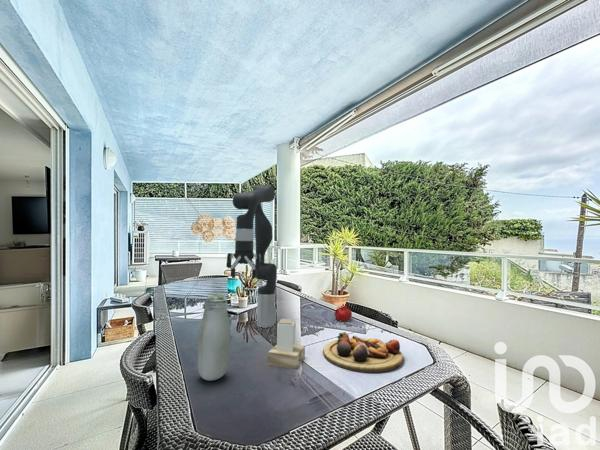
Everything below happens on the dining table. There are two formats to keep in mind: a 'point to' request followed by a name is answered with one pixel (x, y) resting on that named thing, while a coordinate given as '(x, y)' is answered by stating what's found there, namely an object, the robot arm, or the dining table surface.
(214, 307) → the glass bottle
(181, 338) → the dining table surface
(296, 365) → the pale gold metal block
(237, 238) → the robot arm
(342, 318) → the pomegranate
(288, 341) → the white square container
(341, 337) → the wooden plate with food
